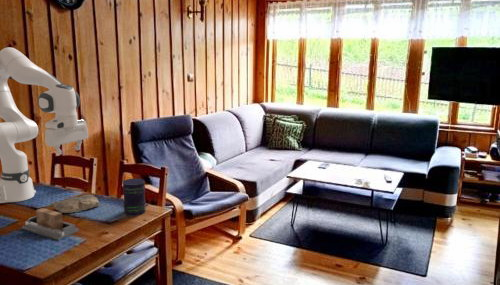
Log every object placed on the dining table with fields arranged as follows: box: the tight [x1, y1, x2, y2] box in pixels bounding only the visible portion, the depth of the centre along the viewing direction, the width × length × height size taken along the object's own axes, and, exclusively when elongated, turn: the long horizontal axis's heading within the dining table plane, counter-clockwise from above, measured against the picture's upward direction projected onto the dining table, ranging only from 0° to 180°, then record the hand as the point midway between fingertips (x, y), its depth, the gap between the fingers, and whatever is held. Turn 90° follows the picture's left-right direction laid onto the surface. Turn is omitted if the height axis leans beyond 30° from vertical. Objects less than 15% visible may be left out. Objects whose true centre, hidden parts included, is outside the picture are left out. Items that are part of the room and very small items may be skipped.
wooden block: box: [35, 207, 63, 230], centre depth 168 cm, size 12×4×7 cm, turn 64°
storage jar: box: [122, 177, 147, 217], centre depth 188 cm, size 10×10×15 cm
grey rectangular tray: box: [21, 215, 80, 241], centre depth 168 cm, size 22×10×3 cm, turn 64°
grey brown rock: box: [53, 194, 100, 214], centre depth 193 cm, size 14×5×20 cm
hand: (69, 152), depth 181 cm, fingers open, 8 cm apart
